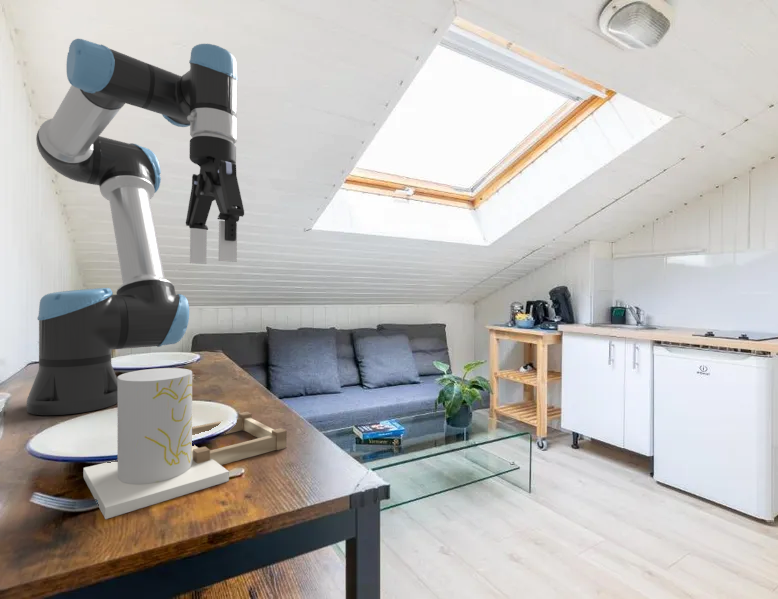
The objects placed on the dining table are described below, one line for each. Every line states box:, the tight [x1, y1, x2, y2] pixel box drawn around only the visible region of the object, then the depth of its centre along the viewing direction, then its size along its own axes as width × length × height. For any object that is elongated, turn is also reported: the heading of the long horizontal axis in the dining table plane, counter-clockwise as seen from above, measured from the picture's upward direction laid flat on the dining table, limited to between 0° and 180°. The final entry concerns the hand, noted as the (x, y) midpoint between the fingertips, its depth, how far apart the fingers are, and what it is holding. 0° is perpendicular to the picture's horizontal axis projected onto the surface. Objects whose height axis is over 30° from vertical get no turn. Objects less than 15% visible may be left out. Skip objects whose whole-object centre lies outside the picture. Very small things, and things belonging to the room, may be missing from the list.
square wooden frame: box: [192, 411, 288, 466], centre depth 64 cm, size 13×13×3 cm
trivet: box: [82, 457, 230, 520], centre depth 52 cm, size 13×13×1 cm
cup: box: [117, 367, 193, 484], centre depth 52 cm, size 8×8×12 cm
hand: (211, 262), depth 74 cm, fingers open, 13 cm apart
